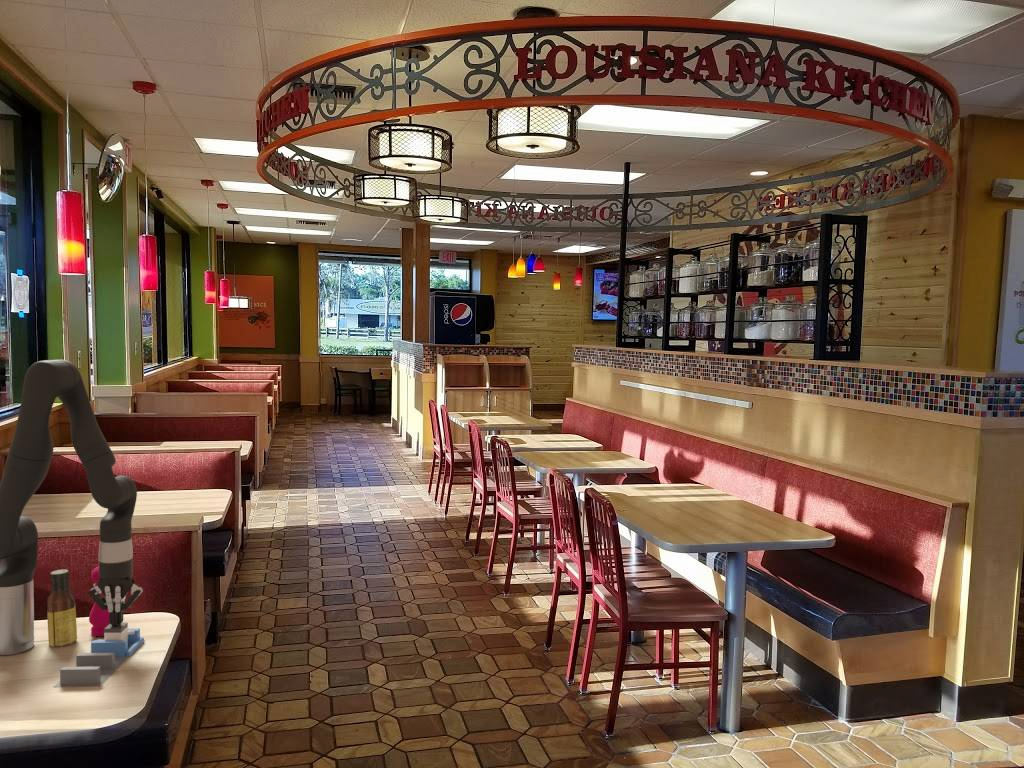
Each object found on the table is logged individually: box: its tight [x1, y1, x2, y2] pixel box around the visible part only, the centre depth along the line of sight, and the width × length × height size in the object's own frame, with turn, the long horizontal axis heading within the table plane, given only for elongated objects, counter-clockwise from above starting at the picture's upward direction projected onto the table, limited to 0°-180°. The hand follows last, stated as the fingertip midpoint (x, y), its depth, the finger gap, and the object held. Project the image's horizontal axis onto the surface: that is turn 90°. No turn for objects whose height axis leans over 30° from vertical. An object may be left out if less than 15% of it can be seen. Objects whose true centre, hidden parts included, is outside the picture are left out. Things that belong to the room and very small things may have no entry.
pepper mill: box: [88, 565, 110, 637], centre depth 204 cm, size 7×7×20 cm
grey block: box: [103, 622, 129, 640], centre depth 190 cm, size 4×4×6 cm
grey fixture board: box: [53, 627, 146, 688], centre depth 183 cm, size 10×26×5 cm, turn 5°
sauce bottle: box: [46, 568, 78, 648], centre depth 193 cm, size 7×6×20 cm
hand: (116, 625), depth 190 cm, fingers closed
